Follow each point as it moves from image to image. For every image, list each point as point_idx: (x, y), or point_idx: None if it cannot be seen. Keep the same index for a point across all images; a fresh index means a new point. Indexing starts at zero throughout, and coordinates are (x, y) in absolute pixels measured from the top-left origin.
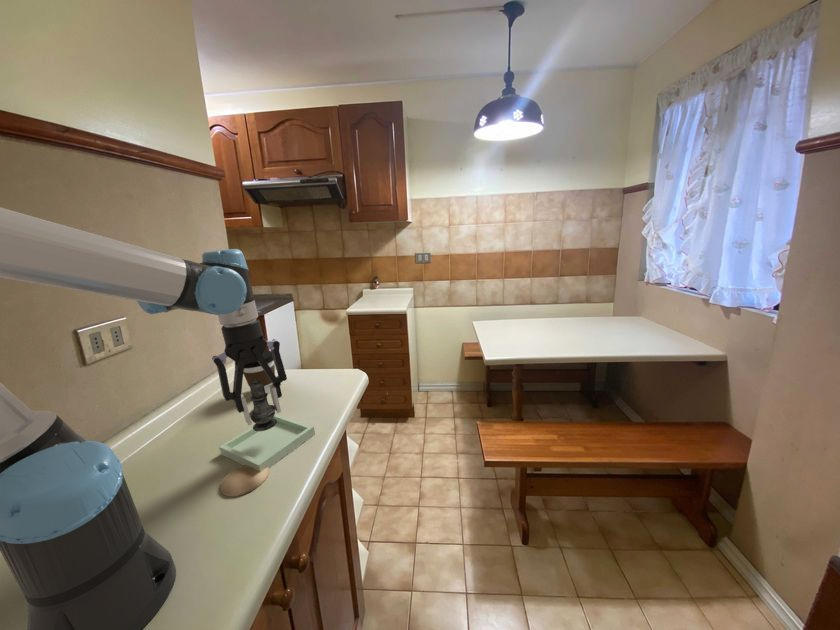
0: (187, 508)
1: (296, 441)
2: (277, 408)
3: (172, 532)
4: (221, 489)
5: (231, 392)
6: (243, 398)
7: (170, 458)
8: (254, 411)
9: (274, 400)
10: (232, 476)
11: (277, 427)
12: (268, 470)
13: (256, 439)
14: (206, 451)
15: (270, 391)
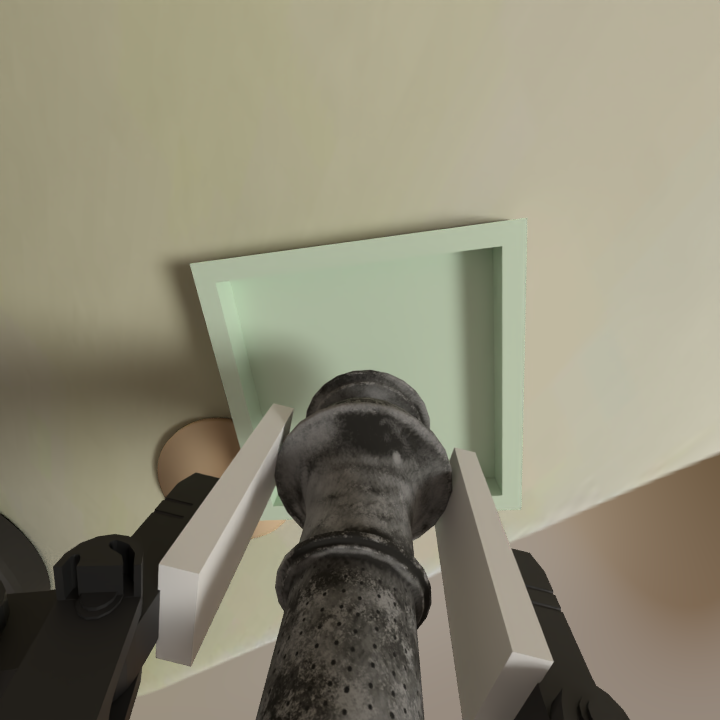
0: (77, 444)
1: None
2: (439, 533)
3: (44, 489)
4: (159, 470)
5: (3, 675)
6: (177, 654)
7: (20, 38)
8: (305, 499)
9: (449, 572)
10: (199, 446)
11: (459, 316)
12: None
13: (347, 318)
14: (168, 161)
15: (485, 578)
